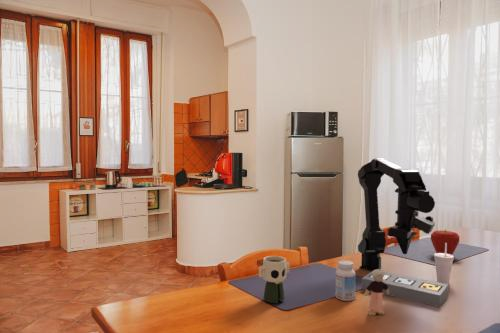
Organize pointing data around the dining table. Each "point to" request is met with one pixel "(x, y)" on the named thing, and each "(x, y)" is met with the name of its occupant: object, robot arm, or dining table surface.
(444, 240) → the apple
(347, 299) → the pill bottle
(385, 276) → the button one
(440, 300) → the button panel
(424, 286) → the button three
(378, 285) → the grandmother figurine
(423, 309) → the dining table surface
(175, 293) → the dining table surface
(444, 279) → the smoothie
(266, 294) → the character mug
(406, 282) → the button two
